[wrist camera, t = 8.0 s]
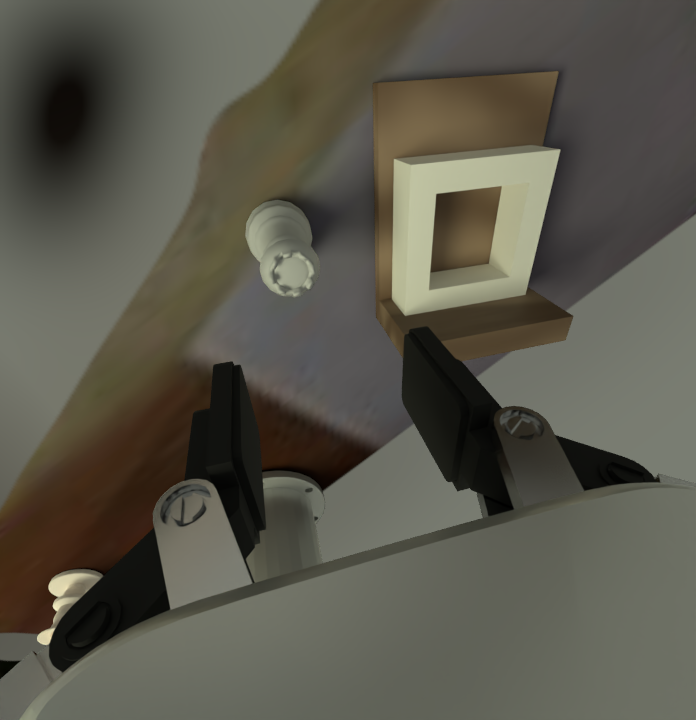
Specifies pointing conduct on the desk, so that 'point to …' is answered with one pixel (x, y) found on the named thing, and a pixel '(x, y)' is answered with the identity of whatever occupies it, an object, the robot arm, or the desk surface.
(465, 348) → the wooden bookend
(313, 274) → the rook chess piece
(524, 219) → the socket block
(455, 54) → the desk surface
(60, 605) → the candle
